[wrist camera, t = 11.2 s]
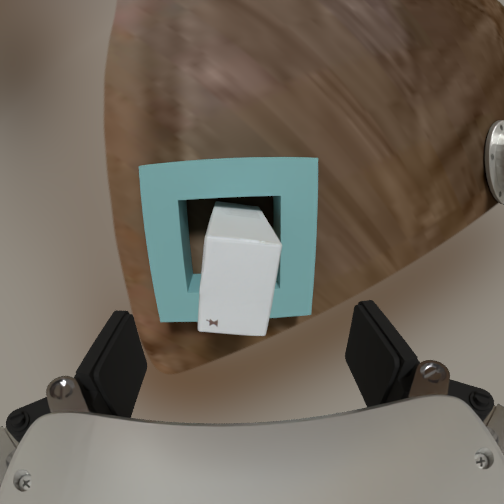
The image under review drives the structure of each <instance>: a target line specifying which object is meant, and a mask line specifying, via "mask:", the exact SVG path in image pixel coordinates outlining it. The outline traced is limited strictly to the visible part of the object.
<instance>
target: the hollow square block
mask: <svg viewBox="0 0 504 504" xmlns="http://www.w3.org/2000/svg"><path fill="white" fill-rule="evenodd" d="M139 176H140V189H141V200H142V210H143V219H144V227H145V235H146V242H147V249H148V256H149V263H150V269H151V275H152V280H153V286H154V291H155V297H156V302H157V307H158V312H159V316H160V321H161V322H198V309H199V290H200V281H201V274H193V269H192V260H191V250H190V239H189V228H188V216H187V203H186V200H190V199H206V198H225V197H249V196H273V217H274V232H275V234H276V236H277V237H278V239H279V241H280V242H281V244H282V250H281V255H280V261H279V267H278V273H277V278H276V284H275V290H274V296H273V302H272V308H271V313H270V317H269V318H279V317H291V316H303V315H311V308H312V296H313V283H314V269H315V252H316V232H317V202H318V158H306V157H250V158H223V159H205V160H191V161H179V162H168V163H159V164H150V165H143V166H139Z"/></svg>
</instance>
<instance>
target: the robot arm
mask: <svg viewBox="0 0 504 504" xmlns="http://www.w3.org/2000/svg"><path fill="white" fill-rule="evenodd" d="M485 169H486V176H487V181H488V184H489V187H490V190H491V192H492V194H493V196H494V198H495V199H496V201H498V202H499V203H500V204H503V205H504V120H499V121H496V122H495V123H494V124H493V125H492V126H491V128H490V130H489V133H488V136H487V140H486V146H485ZM345 359H346V362H347V364H348V366H349V368H350V370H351V373H352V375H353V377H354V379H355V381H356V383H357V385H358V388H359V390H360V392H361V394H362V396H363V398H364V401H365V403H366V405H367V408H362V409H357V410H352V411H347V412H342V413H336V414H331V415H324V416H317V417H310V418H303V419H294V420H285V421H273V422H259V423H236V424H235V423H234V424H204V423H178V422H164V421H152V420H144V419H135V418H131V415H132V412H133V409H134V405H135V402H136V399H137V396H138V393H139V390H140V387H141V384H142V381H143V379H144V376H145V373H146V370H147V362H146V359H145V355H144V352H143V349H142V346H141V342H140V339H139V335H138V332H137V328H136V325H135V321H134V317H133V315H132V314H129V312H128V311H114V312H113V314H112V316H111V317H110V319H109V320H108V321H107V323H106V325H105V326H104V328H103V329H102V331H101V332H100V334H99V335H98V337H97V338H96V340H95V342H94V343H93V345H92V346H91V348H90V350H89V351H88V353H87V354H86V356H85V358H84V359H83V361H82V363H81V365H80V366H79V368H78V369H77V371H76V375H75V377H74V378H73V377H70V376H61V377H58V378H56V379H54V380H53V381H51V382H50V384H49V385H48V386H47V389H46V395H47V397H45V398H43V399H41V400H38V401H36V402H34V403H31V404H29V405H26V406H24V407H21V408H19V409H17V410H15V411H13V412H12V413H11V414H10V415H9V416H8V418H7V421H6V428H3V426H1V427H0V504H504V407H503V406H502V405H500V404H497V406H495V405H494V400H493V398H492V396H491V395H490V393H489V392H487V391H486V390H483V389H481V388H477V387H474V386H470V385H467V384H464V383H460V382H457V381H454V380H450V379H449V378H450V373H449V371H448V369H447V367H445V365H443V364H442V363H440V362H437V361H433V360H426V361H423V362H421V363H420V362H419V361H418V359H417V356H416V355H415V353H414V352H413V351H412V349H411V348H410V347H409V345H408V344H407V343H406V342H405V340H404V339H403V338H402V336H401V335H400V334H399V333H398V331H397V330H396V329H395V327H394V326H393V325H392V324H391V323H390V321H389V320H388V319H387V317H386V316H385V315H384V314H383V313H382V311H381V310H380V309H379V308H378V307H377V305H376V304H375V303H374V302H373V301H372V300H369V301H361V302H359V303H358V305H356V306H355V307H354V313H353V318H352V323H351V328H350V334H349V338H348V343H347V348H346V353H345Z"/></svg>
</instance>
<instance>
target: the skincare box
mask: <svg viewBox="0 0 504 504" xmlns="http://www.w3.org/2000/svg"><path fill="white" fill-rule="evenodd" d="M281 250H282V244H281V242H280V241H279V239H278V237H277V236H276V234H275V232H274V231H273V229H272V227H271V226H270V224H269V222H268V221H267V219H266V217H265V216H264V214H263V212H262V211H261V209H260V208H259V207H258V206H250V205H243V204H236V203H228V202H220V201H216V202H215V204H214V208H213V211H212V214H211V218H210V221H209V224H208V228H207V232H206V235H205V239H204V250H203V261H202V272H201V281H200V290H199V309H198V331H200V332H212V333H224V334H235V335H249V336H265V335H266V331H267V327H268V322H269V317H270V313H271V308H272V302H273V296H274V290H275V284H276V278H277V273H278V267H279V261H280V255H281Z"/></svg>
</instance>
